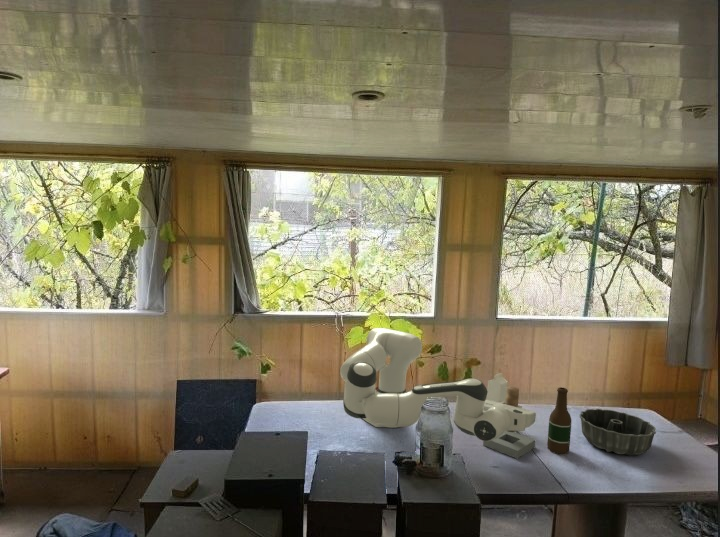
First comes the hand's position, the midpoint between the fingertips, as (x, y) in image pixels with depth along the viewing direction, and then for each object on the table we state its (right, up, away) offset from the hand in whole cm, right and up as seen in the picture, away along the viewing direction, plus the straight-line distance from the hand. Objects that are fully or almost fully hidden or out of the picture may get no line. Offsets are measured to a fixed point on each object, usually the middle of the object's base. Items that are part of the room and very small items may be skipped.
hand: (512, 405), depth 181 cm
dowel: (-1, -9, 0) cm, 9 cm away
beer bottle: (+17, -17, -1) cm, 24 cm away
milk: (-1, -14, +21) cm, 25 cm away
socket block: (-1, -16, +1) cm, 16 cm away
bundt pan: (+42, -17, +5) cm, 45 cm away
